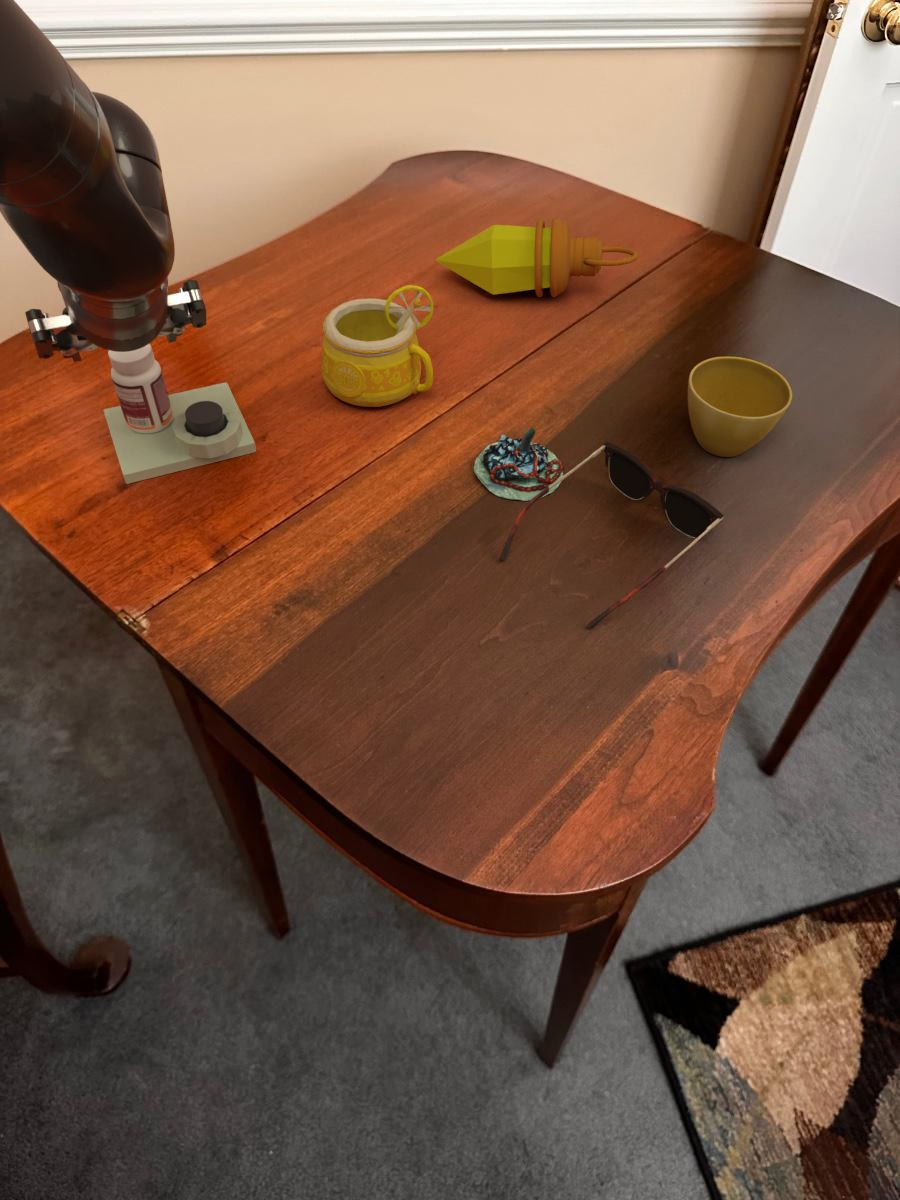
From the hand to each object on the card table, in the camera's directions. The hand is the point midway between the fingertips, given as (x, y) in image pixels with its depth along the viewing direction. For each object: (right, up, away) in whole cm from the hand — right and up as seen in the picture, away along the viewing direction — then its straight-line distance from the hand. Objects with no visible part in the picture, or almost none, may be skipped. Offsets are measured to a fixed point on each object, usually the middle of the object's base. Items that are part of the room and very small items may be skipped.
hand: (122, 340), depth 80 cm
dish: (+37, -11, +8) cm, 39 cm away
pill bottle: (-1, -6, +9) cm, 11 cm away
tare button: (+6, -7, +6) cm, 11 cm away
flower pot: (+59, -7, +12) cm, 60 cm away
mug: (+22, -1, +16) cm, 28 cm away
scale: (+2, -7, +10) cm, 12 cm away
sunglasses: (+44, -19, +1) cm, 48 cm away
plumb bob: (+40, +15, +30) cm, 53 cm away
